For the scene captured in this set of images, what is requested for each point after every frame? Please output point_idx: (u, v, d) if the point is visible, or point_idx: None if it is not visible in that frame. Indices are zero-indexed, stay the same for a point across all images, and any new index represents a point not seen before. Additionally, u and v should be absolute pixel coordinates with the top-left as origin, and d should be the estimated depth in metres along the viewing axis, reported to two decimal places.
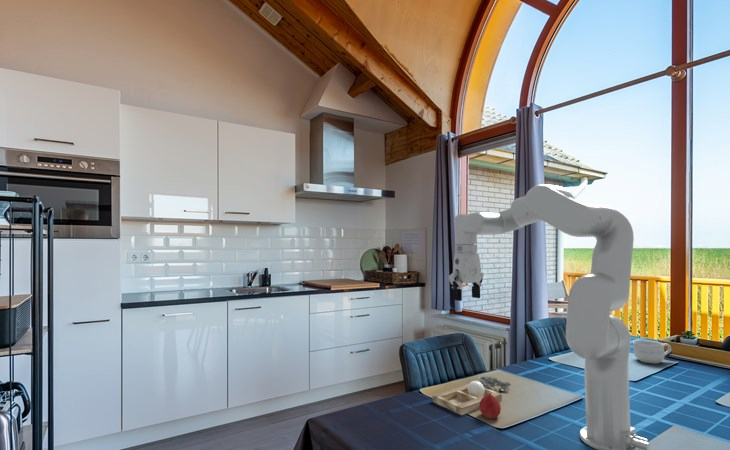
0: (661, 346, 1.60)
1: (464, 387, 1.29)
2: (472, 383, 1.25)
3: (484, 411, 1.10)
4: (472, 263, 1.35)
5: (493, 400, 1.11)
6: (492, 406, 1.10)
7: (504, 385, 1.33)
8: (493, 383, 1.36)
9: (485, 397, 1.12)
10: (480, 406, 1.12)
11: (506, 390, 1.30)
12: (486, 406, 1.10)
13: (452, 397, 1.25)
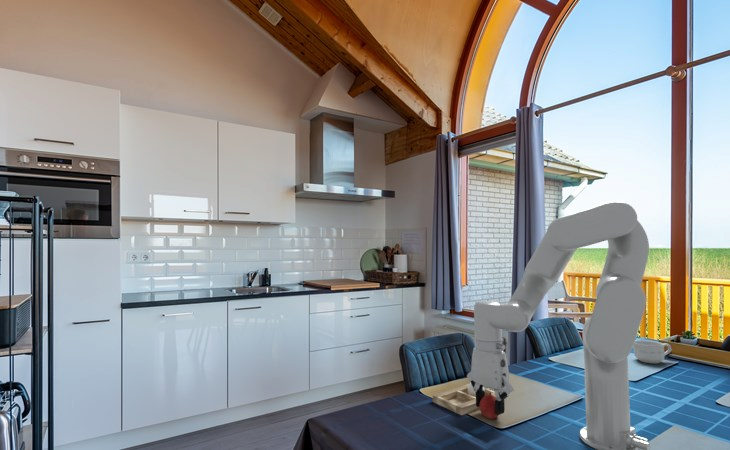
0: (661, 346, 1.60)
1: (464, 387, 1.29)
2: None
3: (484, 411, 1.10)
4: None
5: (493, 400, 1.11)
6: (492, 406, 1.10)
7: None
8: None
9: (485, 397, 1.12)
10: (480, 406, 1.12)
11: None
12: (486, 406, 1.10)
13: (452, 397, 1.25)
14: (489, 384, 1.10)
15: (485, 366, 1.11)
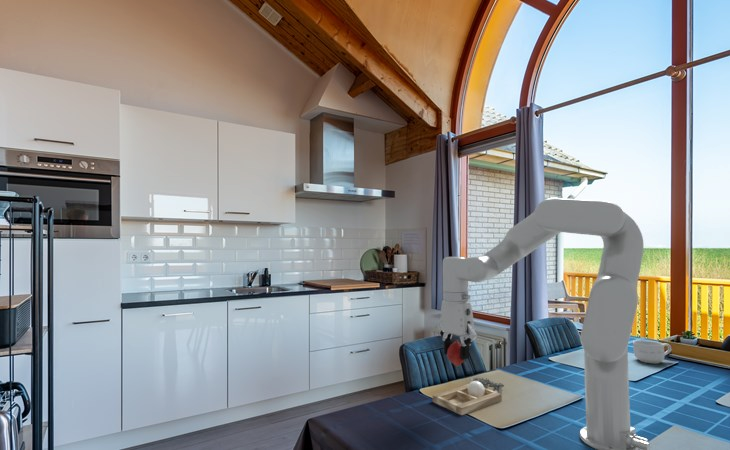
0: (661, 346, 1.60)
1: (464, 387, 1.29)
2: (472, 383, 1.25)
3: (450, 356, 1.19)
4: None
5: (459, 347, 1.20)
6: (458, 351, 1.19)
7: (497, 386, 1.32)
8: (486, 384, 1.34)
9: (452, 344, 1.21)
10: (447, 353, 1.21)
11: (500, 391, 1.29)
12: (452, 352, 1.19)
13: (452, 397, 1.25)
14: (455, 331, 1.19)
15: (452, 315, 1.20)
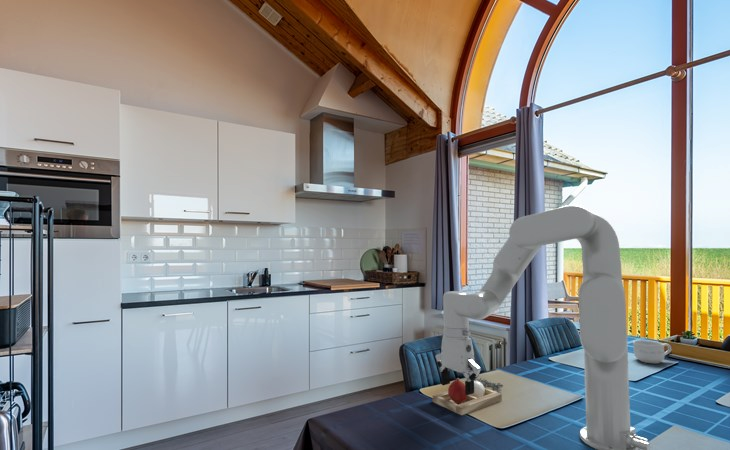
0: (661, 346, 1.60)
1: None
2: None
3: (452, 395, 1.19)
4: None
5: (460, 385, 1.19)
6: (459, 390, 1.18)
7: (496, 386, 1.32)
8: (484, 385, 1.34)
9: (453, 383, 1.20)
10: (448, 391, 1.20)
11: (499, 391, 1.29)
12: (453, 391, 1.19)
13: None
14: (456, 368, 1.18)
15: (452, 351, 1.19)
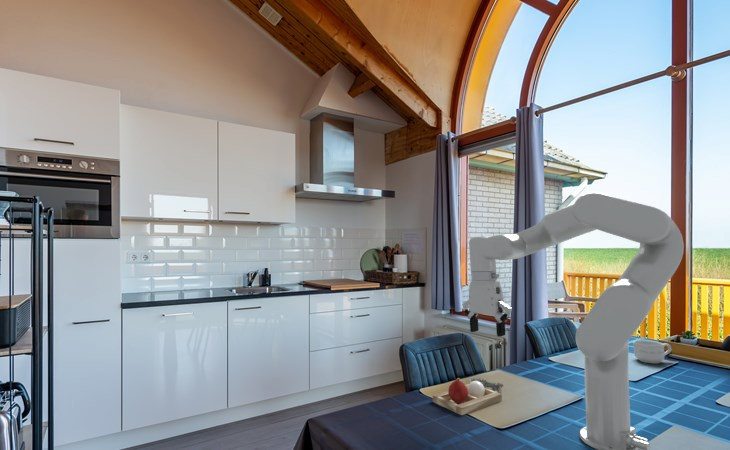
0: (661, 346, 1.60)
1: None
2: (472, 383, 1.25)
3: (452, 395, 1.19)
4: None
5: (460, 385, 1.19)
6: (459, 390, 1.18)
7: (496, 386, 1.32)
8: (484, 385, 1.34)
9: (453, 383, 1.20)
10: (449, 391, 1.20)
11: (499, 391, 1.29)
12: (454, 391, 1.19)
13: None
14: (486, 311, 1.18)
15: (481, 295, 1.19)
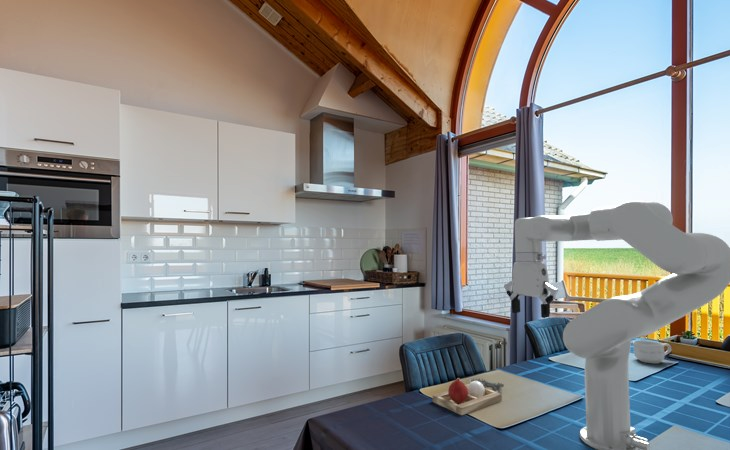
0: (661, 346, 1.60)
1: None
2: (472, 383, 1.25)
3: (452, 395, 1.19)
4: None
5: (460, 385, 1.19)
6: (459, 390, 1.18)
7: (496, 386, 1.32)
8: (484, 385, 1.34)
9: (453, 383, 1.20)
10: (449, 391, 1.20)
11: (500, 391, 1.29)
12: (454, 391, 1.19)
13: None
14: (530, 292, 1.18)
15: (526, 276, 1.18)
